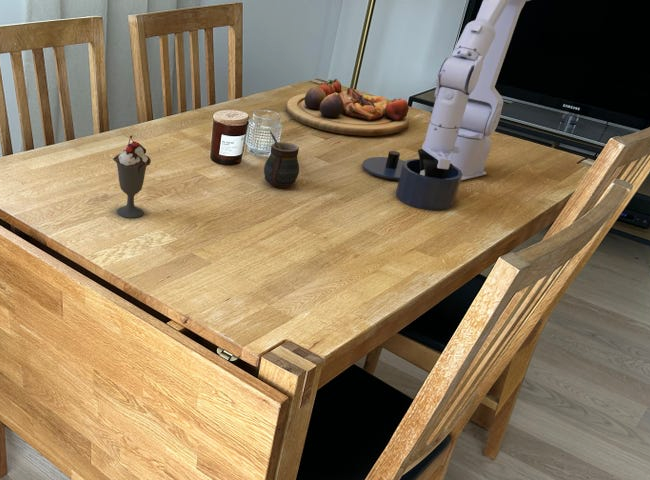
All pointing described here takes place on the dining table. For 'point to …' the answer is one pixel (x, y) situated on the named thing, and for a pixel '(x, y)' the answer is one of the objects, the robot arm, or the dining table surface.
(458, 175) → the dark blue round container
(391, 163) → the lid
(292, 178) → the mate gourd
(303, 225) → the dining table surface
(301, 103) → the wooden plate
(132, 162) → the sundae
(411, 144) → the dining table surface
